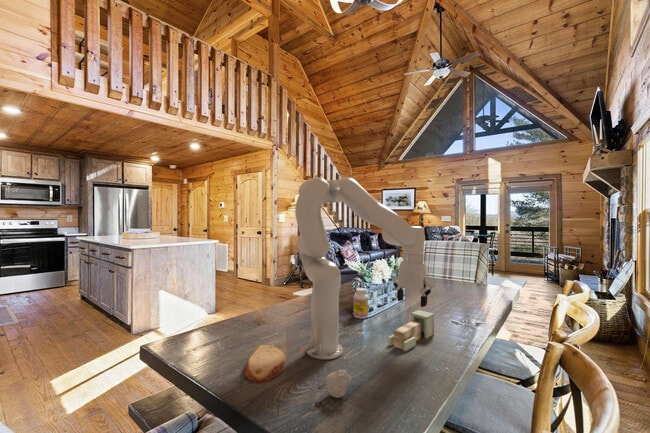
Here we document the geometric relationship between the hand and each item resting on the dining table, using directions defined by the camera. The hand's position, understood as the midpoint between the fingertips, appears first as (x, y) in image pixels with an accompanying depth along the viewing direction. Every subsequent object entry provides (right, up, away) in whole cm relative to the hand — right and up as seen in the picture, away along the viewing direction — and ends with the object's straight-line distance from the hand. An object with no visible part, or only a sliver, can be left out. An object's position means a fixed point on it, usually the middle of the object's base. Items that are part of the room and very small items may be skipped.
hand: (411, 303), depth 118 cm
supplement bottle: (-16, -14, +26) cm, 34 cm away
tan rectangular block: (-2, -14, -2) cm, 14 cm away
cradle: (-5, -14, -5) cm, 16 cm away
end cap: (+6, -14, +6) cm, 16 cm away
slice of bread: (-52, -14, -20) cm, 58 cm away
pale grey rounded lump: (-30, -14, -37) cm, 49 cm away
